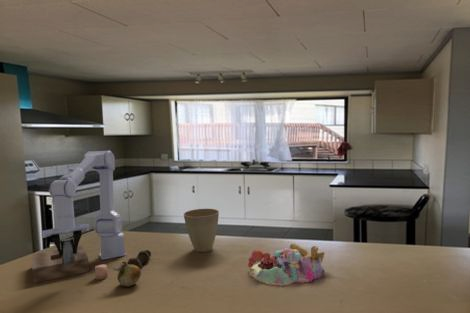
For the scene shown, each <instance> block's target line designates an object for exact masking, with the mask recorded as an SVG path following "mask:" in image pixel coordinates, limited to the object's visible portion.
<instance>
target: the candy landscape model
mask: <svg viewBox="0 0 470 313" xmlns="http://www.w3.org/2000/svg"><path fill="white" fill-rule="evenodd" d="M318 250H319V247H318V246H315V245H313V246H311V247H310V251H308V250H307V249H305V248H303V247H302V246H300V245H299V244H297V243H295V242H293V243H291V244H290V245H289V247H288V246H287V247H286V248H283V249H280V250H276V251H275V252H274V253H273V255H272V256H271V254H270V252H268V251H264V252H263V251H262V250H260V249H257V248H256V249H253V251H252V252H251V256H249V258H248V263H247V266H248V274H249V275H250V277H252V278H254V279H255V280H256V281H258V282H260V283H264V284H267V285H269V286H281V287H283V286H286V287H287V286H290V285H292V284H294V283H311V282H313V281H314V280H317V279H320V278H321V276H322V275H323V272H324V270H325V268H324V267H323V266H322V262H323V260H324V256H325V252H324V251H321V252H318ZM257 262H258V263H257Z"/></svg>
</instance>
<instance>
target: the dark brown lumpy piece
mask: <svg viewBox="0 0 470 313" xmlns="http://www.w3.org/2000/svg"><path fill="white" fill-rule="evenodd" d="M151 256H152V253H151V251H150V250H148V249H146V250H140V251H139V252H138V254H137V255H136V257H130V258H129V259H128V260H127V261H126V262H127V264H129V265H136V266H138V267H139V269H140V270H141V268H142V266H143V264H146V263H148V262H149V260H150V258H151Z"/></svg>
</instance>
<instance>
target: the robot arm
mask: <svg viewBox="0 0 470 313" xmlns="http://www.w3.org/2000/svg"><path fill="white" fill-rule="evenodd" d="M83 155H84V156H83V160H81V162H80V163H79V164H78V165H77V167H70V168H69V169H68V171H67V172H66V173H65V174H63V175H62V176H61V177H60V178H59V179H56V180H54V181H52V182H51V183H50V185H49V189H48V193H49V195H50V196H51V200H52V203H54V213H55V215H54V216H55V225H56V226H55V228H50V229H45V230H42V231H41V238H42V239H44V238H45V239H46V238H48V237H50V238H51V241H52V242H53V244H54V245H55V248H56V250H58V252H59V256H60V257H61V256H62V253H61V242H60V241H61V238H60V237H61V236H60V235H66V234H72V237H73V238H72V239H73V240H74V253H75V254H77V247H78V246H79V243H80V240H81V238H82V236H83V233H82V232H84V231H86V232H87V231H90V224H89V223H85V224H84V223H83V224H82V223H81V224H76V221H75V220H76V218H75V209H74V198H73V197H74V196H75V194H76V191H77V188H78V186H79V184H81V183H82V182H83V180H84V179H85V174H87V173H88V172H89V171H90V170H93V171H96V172H97V173H98V174H99V198H100V212H99V213H98V214H97V215H96V216H95V218H94V219H95V220H94V225H93V227H94V228H93V230H94V232H95V233H96V234H97V237H99V245H100V253H98V255H99V258H100V259H101V260H102V261H105V260H109V259H114V258H119V257H123V256H127V253H126V243H125V242H126V241H125V235H124V233H123V232H122V229H123V222H122V218H121V214H119V213H118V212H116V211H115V204H114V201H115V200H114V176H113V175H114V171H115V170H116V165H115V163H116V162H115V161H116V160H115V159H116V157H115V155H114V153H113V152H112V150H102V151H101V150H100V151H99V150H97V151H90V150H89V151H86V153H85V154H83Z"/></svg>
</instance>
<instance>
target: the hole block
mask: <svg viewBox="0 0 470 313" xmlns="http://www.w3.org/2000/svg"><path fill="white" fill-rule="evenodd" d="M89 268H90V265H89V258H88V254H87V253H86V250H85V248H84V246H83V245H78V247H77V254H75V263H74V264H71V265H62V256H61V257H60V256H59V252H58V249H55V250H51V251H50V250H49V251H44V252H39V253H33V254H32V278H33V284H37V283H42V282H46V281H50V280H55V279H60V278H64V277H68V276H73V275H77V274H83V273H88V272H90V269H89Z"/></svg>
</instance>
